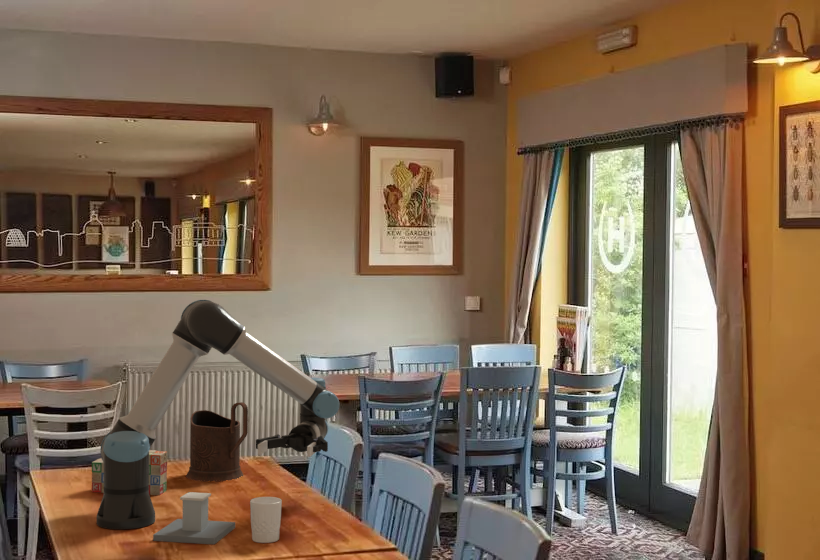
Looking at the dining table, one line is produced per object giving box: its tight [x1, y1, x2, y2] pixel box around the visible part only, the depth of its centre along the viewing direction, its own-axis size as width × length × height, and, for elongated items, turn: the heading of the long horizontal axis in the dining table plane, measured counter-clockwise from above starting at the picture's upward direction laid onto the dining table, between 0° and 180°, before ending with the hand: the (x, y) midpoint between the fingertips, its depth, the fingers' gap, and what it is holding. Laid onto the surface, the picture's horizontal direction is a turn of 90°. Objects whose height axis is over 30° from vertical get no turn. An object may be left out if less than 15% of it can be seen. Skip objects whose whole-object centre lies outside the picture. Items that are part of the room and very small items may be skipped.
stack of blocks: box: [91, 449, 168, 496], centre depth 310 cm, size 21×6×12 cm, turn 84°
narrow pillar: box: [152, 491, 236, 545], centre depth 264 cm, size 16×16×10 cm
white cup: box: [249, 496, 283, 544], centre depth 260 cm, size 8×8×10 cm
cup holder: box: [185, 401, 249, 482], centre depth 333 cm, size 18×24×25 cm
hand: (283, 450), depth 274 cm, fingers open, 13 cm apart
